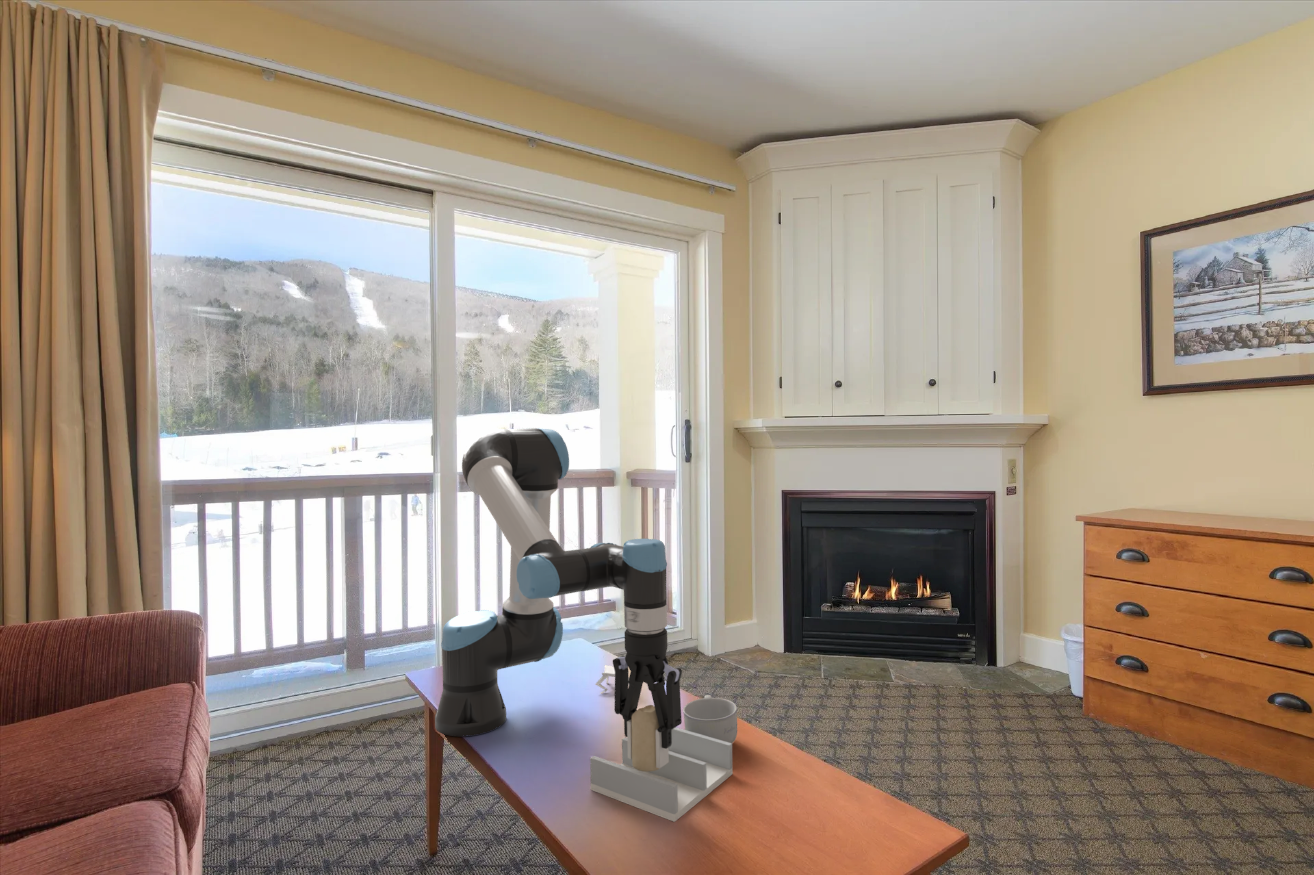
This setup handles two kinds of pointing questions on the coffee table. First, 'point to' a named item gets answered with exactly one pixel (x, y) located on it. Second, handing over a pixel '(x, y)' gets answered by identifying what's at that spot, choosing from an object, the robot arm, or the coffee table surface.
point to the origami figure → (608, 672)
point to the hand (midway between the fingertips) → (648, 760)
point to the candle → (644, 738)
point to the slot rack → (667, 775)
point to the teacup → (712, 718)
